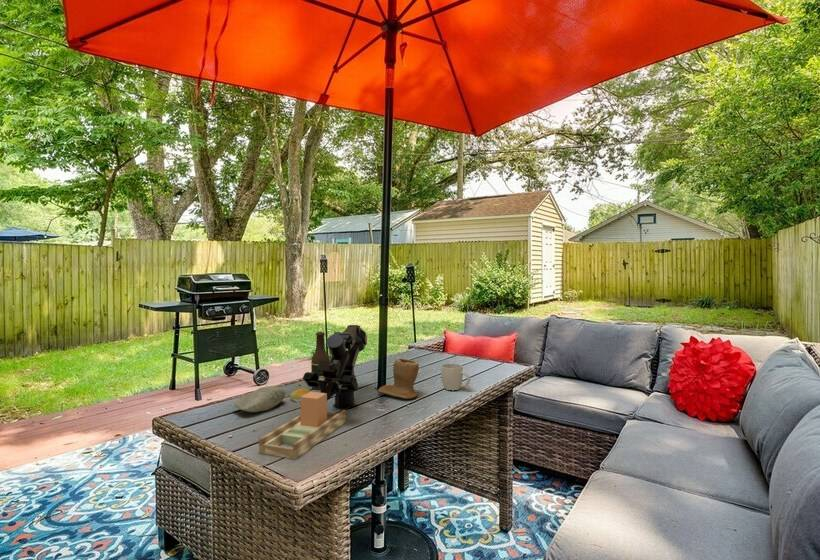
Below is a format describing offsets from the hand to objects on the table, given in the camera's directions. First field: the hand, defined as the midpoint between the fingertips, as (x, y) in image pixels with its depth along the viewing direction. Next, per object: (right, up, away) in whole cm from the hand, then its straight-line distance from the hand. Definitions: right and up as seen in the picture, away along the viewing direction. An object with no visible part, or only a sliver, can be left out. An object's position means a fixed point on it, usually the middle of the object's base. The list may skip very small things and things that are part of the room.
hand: (321, 403), depth 144 cm
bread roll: (-14, -7, +29) cm, 33 cm away
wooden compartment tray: (-3, -8, -8) cm, 12 cm away
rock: (-25, -7, +17) cm, 32 cm away
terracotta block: (-2, -5, -4) cm, 7 cm away
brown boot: (+26, -6, +33) cm, 42 cm away
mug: (+49, -6, +42) cm, 64 cm away
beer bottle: (-9, -6, +45) cm, 46 cm away
